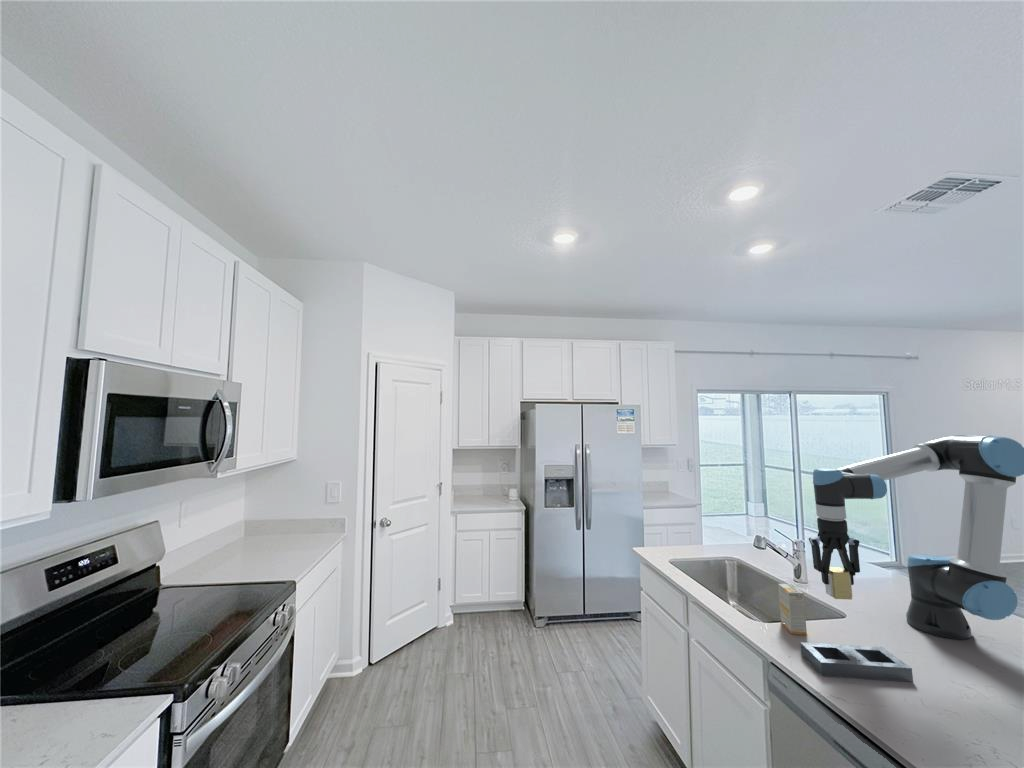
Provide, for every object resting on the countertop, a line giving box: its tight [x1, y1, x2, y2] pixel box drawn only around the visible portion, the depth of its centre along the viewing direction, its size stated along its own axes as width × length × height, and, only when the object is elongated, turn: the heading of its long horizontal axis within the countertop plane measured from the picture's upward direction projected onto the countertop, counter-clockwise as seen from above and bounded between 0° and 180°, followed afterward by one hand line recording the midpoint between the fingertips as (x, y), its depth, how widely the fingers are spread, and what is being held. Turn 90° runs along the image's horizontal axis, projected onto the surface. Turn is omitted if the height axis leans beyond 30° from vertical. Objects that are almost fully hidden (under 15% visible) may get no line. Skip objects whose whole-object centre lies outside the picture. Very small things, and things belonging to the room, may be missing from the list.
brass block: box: [829, 566, 853, 600], centre depth 129 cm, size 4×4×8 cm
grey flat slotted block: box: [799, 641, 914, 683], centre depth 117 cm, size 22×10×4 cm, turn 81°
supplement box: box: [777, 583, 808, 636], centre depth 139 cm, size 8×5×13 cm, turn 168°
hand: (839, 594), depth 129 cm, fingers closed on brass block, 4 cm apart
